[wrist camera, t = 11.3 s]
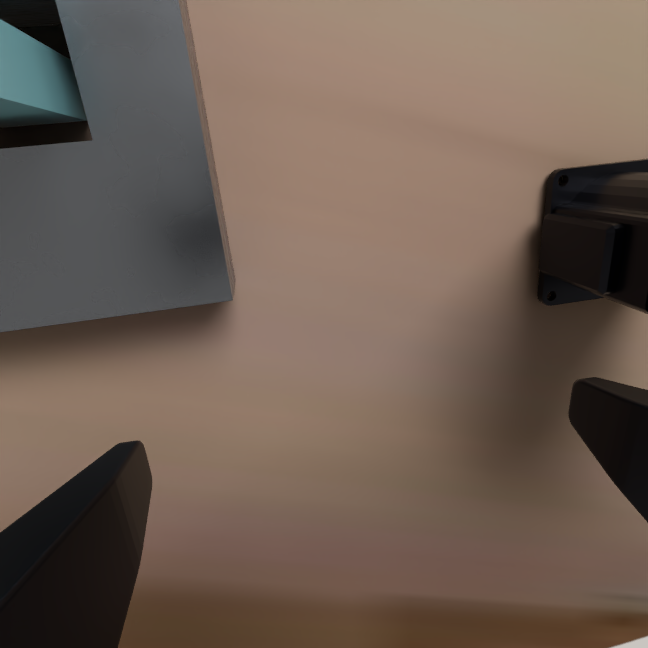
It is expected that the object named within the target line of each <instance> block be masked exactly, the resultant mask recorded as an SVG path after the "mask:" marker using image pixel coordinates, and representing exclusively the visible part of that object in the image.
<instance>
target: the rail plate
mask: <svg viewBox="0 0 648 648" xmlns="http://www.w3.org/2000/svg"><path fill="white" fill-rule="evenodd" d="M0 19H1V20H3V21H4V22H6V23H8V24H10V25H11V26H13V27H15V28H19V27H35V26H50V25H62V27H63V31H64V35H65V38H66V42H67V46H68V50H69V53H70V57H71V61H72V65H73V68H74V72H75V76H76V80H77V83H78V87H79V91H80V94H81V98H82V102H83V106H84V109H85V113H86V117H87V121H88V124H89V128H90V132H91V136H92V139H93V140H91V141H80V142H69V143H58V144H48V145H37V146H26V147H15V148H4V149H0V332H6V331H13V330H20V329H28V328H35V327H42V326H49V325H57V324H64V323H71V322H78V321H86V320H93V319H100V318H108V317H115V316H122V315H129V314H137V313H144V312H151V311H158V310H166V309H173V308H180V307H188V306H195V305H202V304H209V303H217V302H224V301H231V300H233V295H234V287H235V276H234V270H233V264H232V259H231V253H230V247H229V242H228V236H227V230H226V225H225V219H224V213H223V207H222V202H221V196H220V190H219V185H218V179H217V173H216V168H215V162H214V156H213V150H212V145H211V139H210V133H209V128H208V122H207V116H206V111H205V105H204V99H203V93H202V88H201V82H200V76H199V71H198V65H197V59H196V54H195V48H194V42H193V37H192V31H191V25H190V19H189V14H188V8H187V2H186V0H0Z"/></svg>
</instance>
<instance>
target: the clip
mask: <svg viewBox="0 0 648 648" xmlns="http://www.w3.org/2000/svg"><path fill="white" fill-rule="evenodd" d="M77 121H87V118H86V114H85V110H84V106H83V103H82V99H81V95H80V91H79V87H78V84H77V80H76V76H75V72H74V68H73V65H72V61H71V60H70V59H69V58H67V57H65V56H63V55H62V54H60V53H58V52H56V51H55V50H53V49H51V48H49V47H48V46H46V45H44V44H42V43H41V42H39V41H37V40H36V39H34V38H32V37H30V36H29V35H27V34H25V33H23V32H22V31H20V30H18V29H16V28H15V27H13V26H11V25H10V24H8V23H6V22H4V21H3V20H1V19H0V127H2V128H5V127H17V126H29V125H41V124H53V123H65V122H77Z"/></svg>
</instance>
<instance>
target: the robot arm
mask: <svg viewBox="0 0 648 648" xmlns="http://www.w3.org/2000/svg"><path fill="white" fill-rule="evenodd" d="M561 176H562V178H563V180H562V183H561V184H560V185H559V184H558V180H559V178H560V177H561ZM539 269H540V272H539V284H538V300H539V301H540V302H541V303H543V304H545V305H550V306H551V305H558V304H564V303H571V302H578V301H584V300H591V299H597V298H607V299H610V300H612V301H615V302H617V303H620V304H623V305H625V306H628V307H631V308H633V309H636V310H639V311H641V312H644V313H647V314H648V159H642V160H633V161H624V162H615V163H606V164H598V165H589V166H580V167H571V168H562V169H557V170H554V171H553V172H552V173H551V174H550V176H549V178H548V182H547V193H546V204H545V216H544V219H543V227H542V238H541V250H540V261H539ZM549 292H551V296H550V297H549V298H547V295H548V293H549ZM568 414H569V420H570V422H571V424H572V426H573V427H574V429H575V430H576V431H577V433H578V434H579V436H580V437H581V438H582V440H583V441H584V442H585V444H586V445H587V447H588V448H589V449H590V451H591V452H592V454H593V455H594V456H595V458H596V459H597V461H598V462H599V463H600V465H601V466H602V467H603V469H604V470H605V472H606V473H607V474H608V476H609V477H610V478H611V480H612V481H613V482H614V484H615V485H616V486H617V487H618V488H619V490H620V491H621V492H622V493H623V494H624V496H625V497H626V498H627V499H628V500H629V501H630V502H631V504H632V505H633V506H634V507H635V508H636V509H637V511H638V512H639V513H640V514H641V515H642V516H643V517H644V519H645V520H646V521H647V522H648V390H645V389H641V388H637V387H633V386H629V385H625V384H621V383H617V382H613V381H609V380H605V379H601V378H596V377H592V378H585V379H579V380H577V381H575V382H574V384H573V387H572V393H571V399H570V405H569V412H568ZM151 491H152V475H151V471H150V467H149V463H148V459H147V455H146V452H145V448H144V445H143V443H142V442H141V441H130V442H123V443H119V444H117V445H115V446H114V447H113V448H111V449H110V450H109V451H107V452H106V453H105V454H104V455H102V456H101V457H100V458H98V459H97V460H96V461H94V462H93V463H92V464H90V465H89V466H88V467H86V468H85V469H84V470H82V471H81V472H80V473H78V474H77V475H76V476H74V477H73V478H72V479H70V480H69V481H68V482H66V483H65V484H64V485H63V486H61V487H60V488H59V489H57V490H56V491H55V492H53V493H52V494H51V495H49V496H48V497H47V498H45V499H44V500H43V501H41V502H40V503H39V504H37V505H36V506H35V507H33V508H32V509H31V510H29V511H28V512H27V513H25V514H24V515H23V516H21V517H20V518H19V519H18V520H16V521H15V522H14V523H12V524H11V525H10V526H8V527H7V528H6V529H4V530H3V531H2V532H0V648H118V645H119V641H120V637H121V633H122V630H123V626H124V622H125V619H126V615H127V611H128V608H129V604H130V600H131V597H132V593H133V589H134V586H135V582H136V578H137V574H138V570H139V566H140V561H141V556H142V550H143V543H144V537H145V530H146V524H147V517H148V511H149V504H150V497H151Z"/></svg>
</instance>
